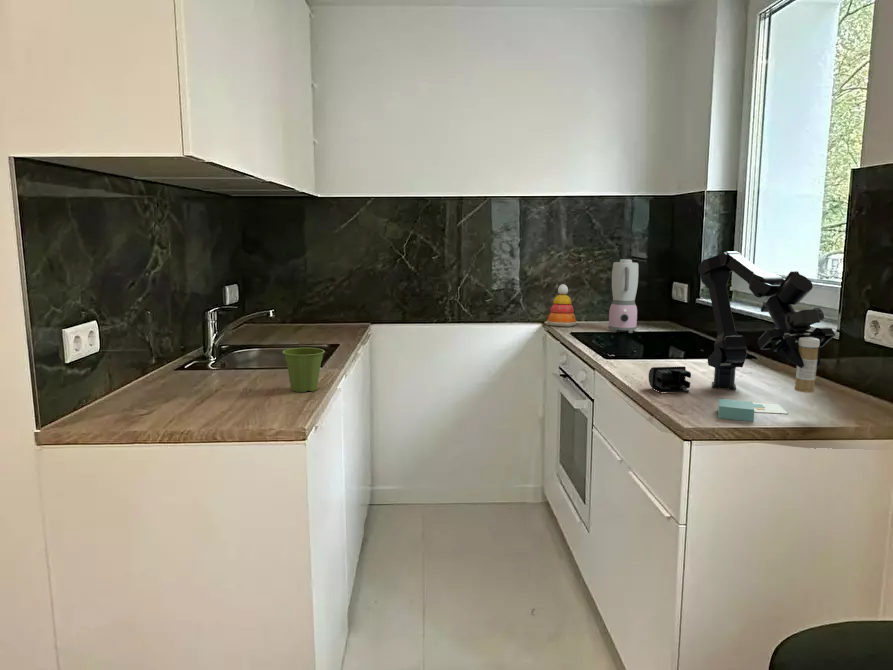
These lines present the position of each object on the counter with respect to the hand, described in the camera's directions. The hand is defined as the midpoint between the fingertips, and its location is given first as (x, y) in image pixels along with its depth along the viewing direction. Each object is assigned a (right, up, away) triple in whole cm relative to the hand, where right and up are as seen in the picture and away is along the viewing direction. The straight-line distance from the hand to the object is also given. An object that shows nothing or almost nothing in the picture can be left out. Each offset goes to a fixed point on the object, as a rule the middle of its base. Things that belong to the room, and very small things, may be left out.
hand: (810, 366), depth 167 cm
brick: (-17, -13, +4) cm, 21 cm away
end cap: (-25, -8, +31) cm, 40 cm away
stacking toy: (-35, +12, +154) cm, 158 cm away
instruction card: (-8, -11, +11) cm, 18 cm away
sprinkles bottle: (0, -6, +3) cm, 7 cm away
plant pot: (-130, -8, +27) cm, 134 cm away
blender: (-11, +9, +137) cm, 138 cm away
